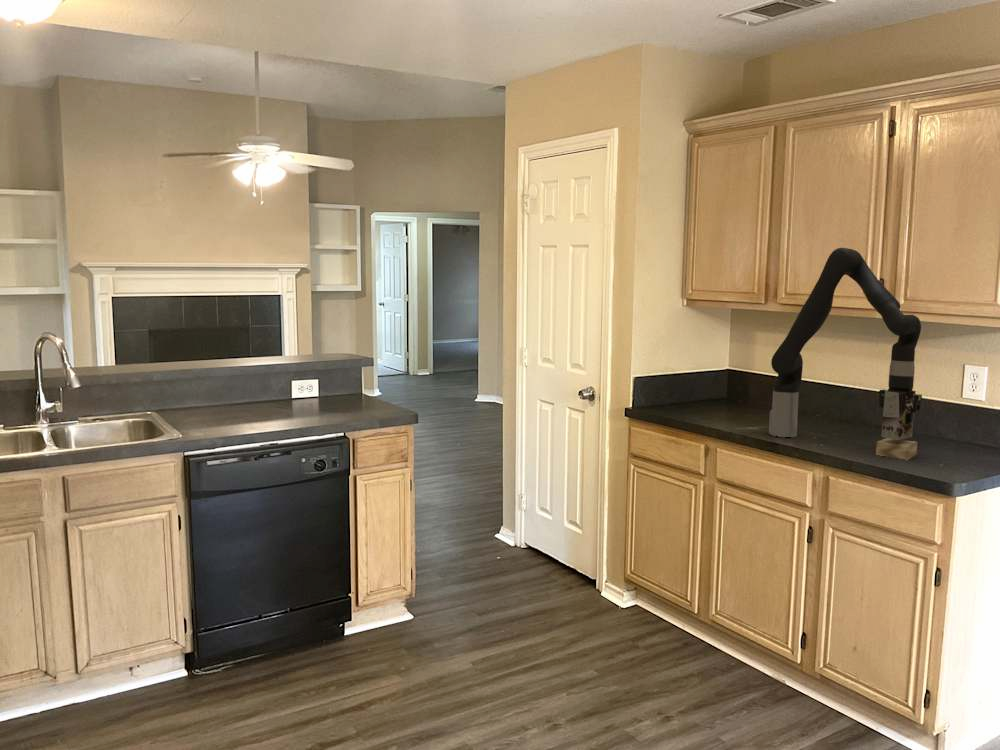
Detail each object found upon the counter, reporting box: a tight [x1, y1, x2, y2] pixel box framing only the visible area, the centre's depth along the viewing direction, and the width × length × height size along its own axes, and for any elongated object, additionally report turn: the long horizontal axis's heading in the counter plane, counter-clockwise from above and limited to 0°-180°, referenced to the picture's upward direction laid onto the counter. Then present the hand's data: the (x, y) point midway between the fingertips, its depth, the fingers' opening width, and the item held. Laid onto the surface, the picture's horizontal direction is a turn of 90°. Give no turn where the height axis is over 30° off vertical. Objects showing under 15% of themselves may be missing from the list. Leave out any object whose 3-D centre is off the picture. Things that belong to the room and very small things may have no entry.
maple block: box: [875, 437, 918, 461], centre depth 268 cm, size 10×10×5 cm
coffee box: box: [880, 390, 916, 440], centre depth 266 cm, size 9×6×16 cm
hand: (898, 422), depth 267 cm, fingers closed on coffee box, 6 cm apart
